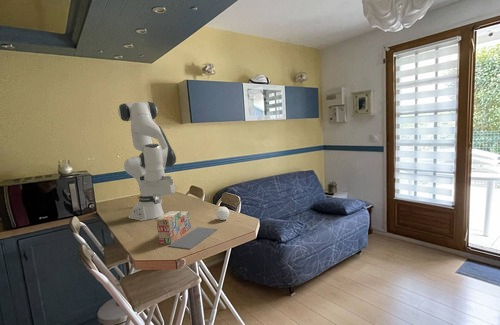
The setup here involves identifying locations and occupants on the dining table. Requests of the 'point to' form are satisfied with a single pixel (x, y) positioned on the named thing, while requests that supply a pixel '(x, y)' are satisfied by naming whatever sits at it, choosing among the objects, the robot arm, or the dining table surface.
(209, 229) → the mat
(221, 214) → the geometric ball
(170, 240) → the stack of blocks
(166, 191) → the robot arm
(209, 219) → the dining table surface
